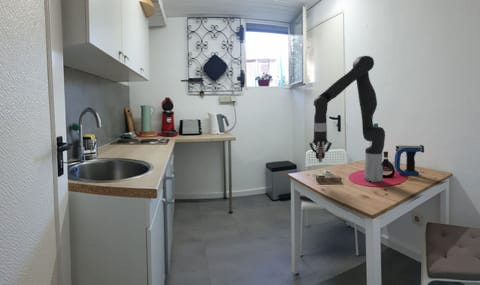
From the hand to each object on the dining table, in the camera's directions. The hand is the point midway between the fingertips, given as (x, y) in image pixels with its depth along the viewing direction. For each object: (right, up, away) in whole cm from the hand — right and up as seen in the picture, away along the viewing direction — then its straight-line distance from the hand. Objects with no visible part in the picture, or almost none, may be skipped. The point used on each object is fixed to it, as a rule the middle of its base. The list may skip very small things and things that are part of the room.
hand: (320, 158), depth 162 cm
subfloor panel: (+5, -14, +7) cm, 16 cm away
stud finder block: (+7, -13, +7) cm, 16 cm away
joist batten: (+5, -15, -1) cm, 16 cm away
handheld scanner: (+62, -12, +14) cm, 65 cm away
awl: (0, -2, 0) cm, 2 cm away
